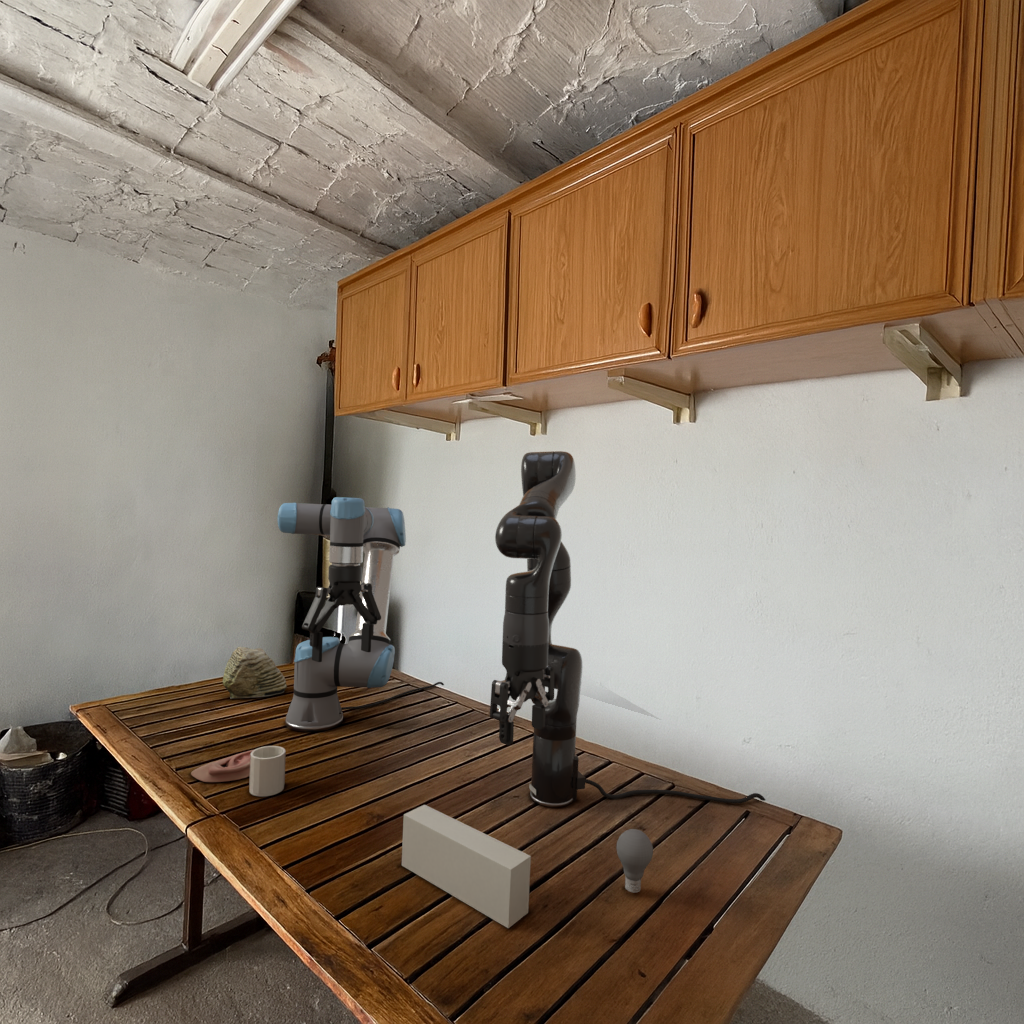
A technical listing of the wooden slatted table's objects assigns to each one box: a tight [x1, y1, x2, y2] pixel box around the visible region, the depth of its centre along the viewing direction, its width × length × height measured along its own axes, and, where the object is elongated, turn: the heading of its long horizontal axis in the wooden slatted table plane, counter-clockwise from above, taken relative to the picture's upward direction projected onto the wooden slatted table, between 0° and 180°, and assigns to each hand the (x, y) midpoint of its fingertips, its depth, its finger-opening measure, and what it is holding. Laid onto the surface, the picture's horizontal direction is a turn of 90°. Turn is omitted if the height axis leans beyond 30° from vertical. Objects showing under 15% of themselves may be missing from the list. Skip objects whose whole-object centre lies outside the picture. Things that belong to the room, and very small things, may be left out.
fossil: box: [222, 646, 288, 699], centre depth 198 cm, size 9×18×15 cm, turn 132°
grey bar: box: [401, 804, 532, 929], centre depth 105 cm, size 24×5×9 cm, turn 51°
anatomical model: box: [190, 749, 254, 783], centre depth 143 cm, size 13×4×12 cm
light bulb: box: [615, 828, 654, 894], centre depth 106 cm, size 6×6×10 cm
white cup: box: [248, 745, 287, 797], centre depth 136 cm, size 7×7×8 cm
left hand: (342, 656), depth 146 cm, fingers open, 13 cm apart
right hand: (522, 735), depth 104 cm, fingers open, 8 cm apart
